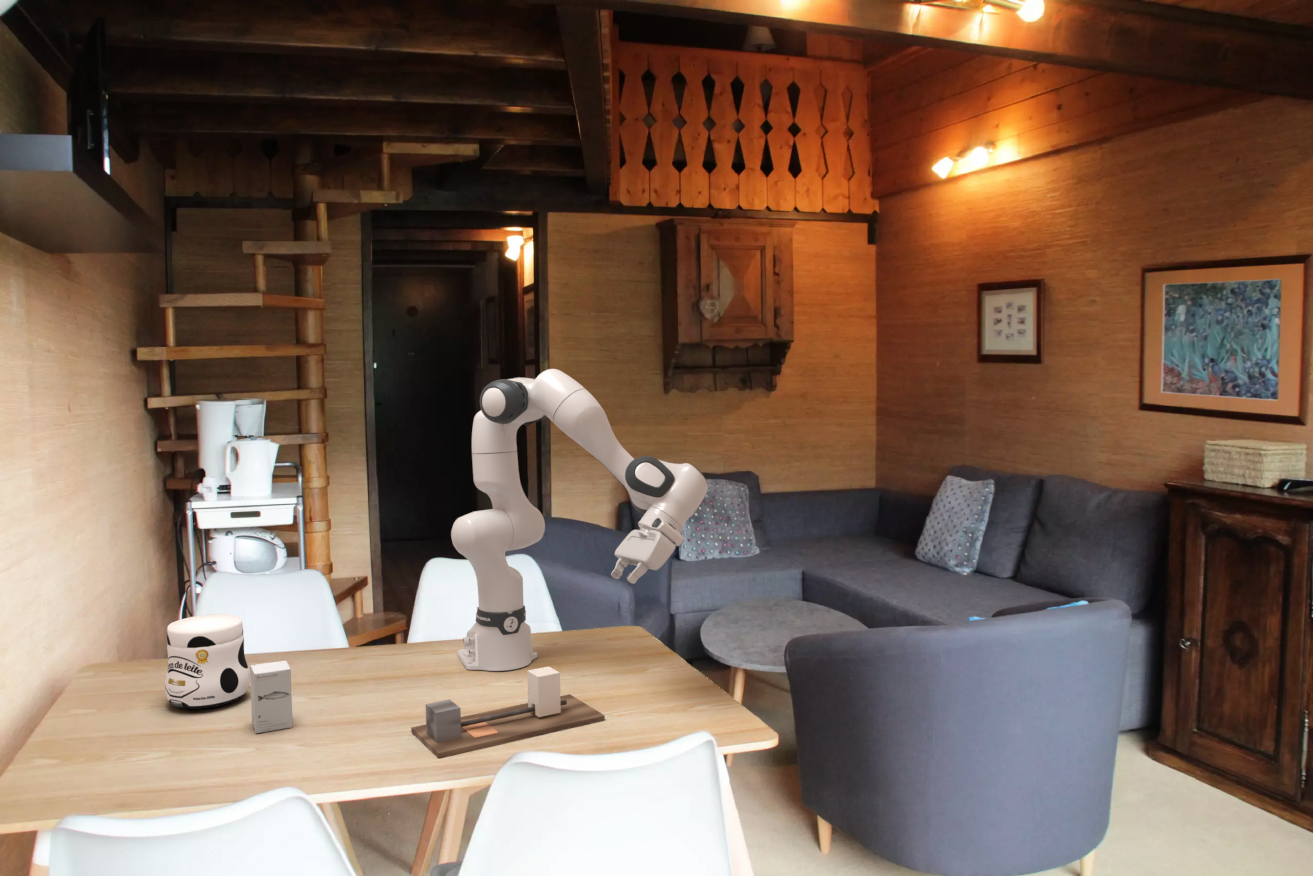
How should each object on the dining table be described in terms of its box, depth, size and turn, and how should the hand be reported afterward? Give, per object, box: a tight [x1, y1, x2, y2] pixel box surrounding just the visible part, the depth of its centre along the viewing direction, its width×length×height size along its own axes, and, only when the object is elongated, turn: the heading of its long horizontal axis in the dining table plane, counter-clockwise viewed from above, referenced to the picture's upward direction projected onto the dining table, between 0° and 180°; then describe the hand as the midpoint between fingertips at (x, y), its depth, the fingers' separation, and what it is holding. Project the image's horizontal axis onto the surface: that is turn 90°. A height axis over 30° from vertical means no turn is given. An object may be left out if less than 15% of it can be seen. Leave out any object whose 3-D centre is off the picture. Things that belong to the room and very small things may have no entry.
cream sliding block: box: [526, 666, 561, 717], centre depth 207 cm, size 5×5×8 cm
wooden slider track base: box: [410, 693, 606, 759], centre depth 203 cm, size 16×36×7 cm, turn 122°
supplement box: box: [249, 660, 294, 734], centre depth 205 cm, size 7×7×13 cm
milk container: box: [164, 613, 250, 710], centre depth 220 cm, size 17×17×18 cm
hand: (621, 579), depth 215 cm, fingers open, 8 cm apart
